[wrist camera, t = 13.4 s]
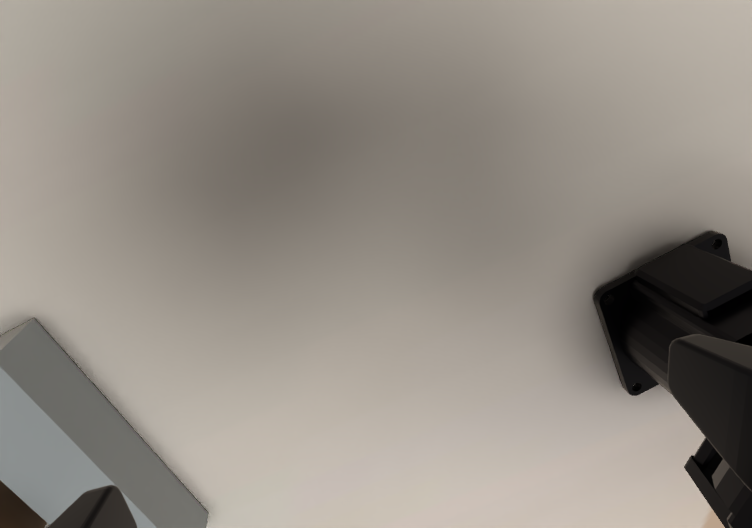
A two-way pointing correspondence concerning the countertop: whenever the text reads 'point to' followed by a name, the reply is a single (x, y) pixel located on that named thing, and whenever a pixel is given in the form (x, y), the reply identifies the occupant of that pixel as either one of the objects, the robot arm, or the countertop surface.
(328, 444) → the countertop surface
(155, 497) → the socket
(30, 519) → the peg
